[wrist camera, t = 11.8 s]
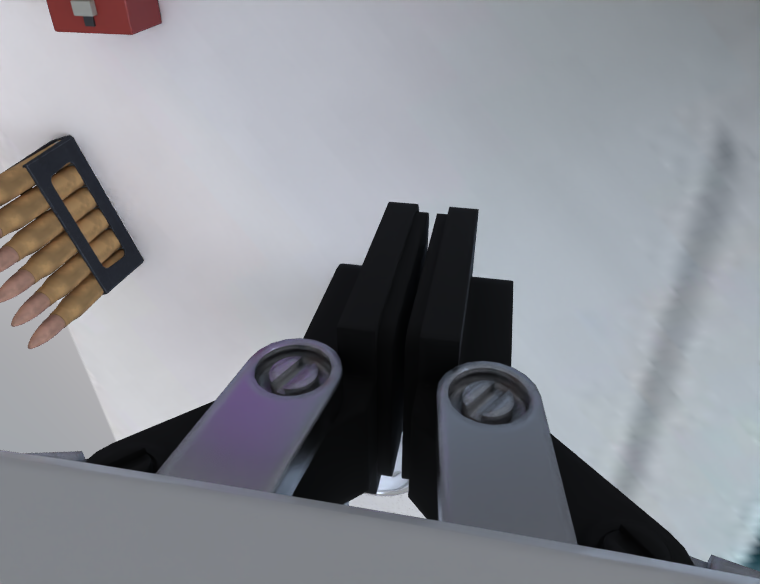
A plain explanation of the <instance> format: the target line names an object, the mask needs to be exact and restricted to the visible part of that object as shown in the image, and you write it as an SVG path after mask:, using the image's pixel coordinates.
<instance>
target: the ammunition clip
mask: <svg viewBox="0 0 760 584" xmlns="http://www.w3.org/2000/svg"><path fill="white" fill-rule="evenodd" d="M55 173H56V174H55ZM35 185H37V186H35ZM33 186H35V187H34V188H32V187H33ZM19 195H21V196H19ZM17 196H19V197H18V198H16V199H15V200H13V201H12V202H10V203H9V204H7V205H6V206H4V207H2V208H1V209H0V238H2V237H3V236H5V235H7V234H8V233H11V232H14V231H16V230H18V229H20V228H22V227H24V226H25V225H26V224H28V223H29V222H31V221H32V220H34V219H35V218H36V219H35V220H34V221H32V222H31V223H30V224H28V225H27V226H25V227H24V228H23V229H21V230H20V231H18V232H17V233H16V234H15V235H14V236H13V237H12V239H11V240H10V241H9V242H7V243H6V244H5V245H4V246H2V248H1V249H0V272H2V271H4V270H5V269H7V268H9V267H10V266H12V265H13V264H14V263H16V262H18V261H20V260H21V259H23V258H24V257H25V256H28V255H30V254H32V253H34V252H36V251H37V252H36V253H35V254H34V255H33V256H31V258H30V259H29V260H28V262H27V263H26V264H25V265H24V266H23V267H21V268H20V269H19V270H18V271H17V272H16V273H15V274H14V275H12V276H11V277H10V278H9V279H8V280H7V281H6V282H5V283H4V284H3V285H2V287H1V288H0V303H1V302H4V301H7V300H9V299H11V298H13V297H15V296H17V295H19V294H20V293H22V292H24V291H25V290H27V289H28V288H29V287H30V286H32V285H33V284H35V283H36V282H38V281H39V280H40V279H42V278H44V277H46V276H48V275H50V274H51V273H53V272H54V271H55V270H56V271H55V272H54V273H53V274H52V275H50V276H49V277H48V278H47V279H46V281H45V282H44V284H43V285H42V286H41V287H40V288H39V289H38V290H37V291H36V292H35V293H34V294H33V295H32V296H31V297H30V298H29V299H28V300H27V301H26V302H25V303H24V304H23V305H22V306H21V307H20V309H19V310H18V312H17V313H16V314H15V316H14V318H13V320H12V323H11V325H12V326H13V327H15V326H19V325H22V324H24V323H26V322H28V321H30V320H31V319H33V318H35V317H36V316H38V315H39V314H41V313H42V312H43V311H44V310H45V309H46V308H48V307H49V306H51V305H52V304H53V303H55V302H56V301H57V300H59V299H61V298H63V297H64V296H65V297H64V298H63V299H62V300H61V302H60V303H59V305H58V306H57V308H56V309H55V310H54V311H53V312H52V313H51V314H50V315H49V317H48V318H47V319H46V320H44V321H43V322H42V324H41V325H40V326H39V327H38V328H37V330H36V331H35V333H34V334H33V336H32V337H31V339H30V341H29V344H28V348H29V349H32V348H35V347H38V346H40V345H42V344H44V343H45V342H47V341H49V340H50V339H51V338H53V337H54V336H55V335H57V334H58V333H59V332H60V331H61V330H62V329H63V328H65V327H66V326H67V325H68V324H69V323H71V322H72V321H73V320H75V319H77V318H78V317H80V316H81V315H82V314H83V313H84V312H85V311H86V310H87V309H88V308H89V307H90V306H91V305H92V304H93V303H95V302H96V301H97V300H98V299H99V298H100V297H101V296H102V295H105V294H107V293H109V292H110V291H111V290H112V289H113V288H114V287H115V286H116V285H118V284H119V283H120V282H121V281H122V280H123V279H124V278H126V277H127V276H128V275H129V274H130V273H131V272H132V271H134V270H135V269H136V268H137V267H138V266H139V265H140V264H142V263H143V261H144V260H143V258H142V257H141V255H140V253H139V251H138V250H137V248H136V246H135V244H134V243H133V241H132V239H131V237H130V236H129V234H128V232H127V230H126V229H125V227H124V225H123V224H122V222H121V220H120V218H119V217H118V215H117V213H116V211H115V210H114V208H113V206H112V204H111V203H110V201H109V199H108V197H107V196H106V194H105V192H104V190H103V189H102V187H101V185H100V184H99V182H98V180H97V178H96V177H95V175H94V173H93V171H92V170H91V168H90V166H89V164H88V163H87V161H86V159H85V157H84V156H83V154H82V152H81V151H80V149H79V147H78V145H77V144H76V142H75V140H74V138H73V137H71V136H65V137H62V138H59V139H55V140H52V141H50V142H48V143H47V144H45V145H44V146H42V147H41V148H39V149H38V150H36V151H35V152H33V153H32V154H30V155H29V156H27V157H26V158H24V159H23V160H21V161H20V162H18V163H16V164H15V165H13V166H12V167H10V168H9V169H7V170H6V171H5V172H3V173H1V174H0V206H2V205H3V204H5V203H7V202H9V201H10V200H12V199H14V198H15V197H17ZM63 199H64V200H63ZM50 208H51V209H50ZM48 209H49V210H48ZM47 210H48V211H47ZM64 230H65V231H64ZM48 242H49V243H48ZM47 243H48V244H47ZM44 245H45V246H44ZM43 246H44V247H43ZM42 247H43V248H42ZM40 248H41V249H40ZM39 249H40V250H39ZM38 250H39V251H38ZM77 252H78V253H77ZM64 263H65V264H64ZM61 265H62V266H61ZM60 266H61V267H60ZM59 267H60V268H59ZM58 268H59V269H58ZM57 269H58V270H57ZM78 284H79V285H78ZM69 292H70V293H69ZM68 293H69V294H68ZM67 294H68V295H67ZM66 295H67V296H66Z"/></svg>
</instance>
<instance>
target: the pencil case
mask: <svg viewBox="0 0 760 584" xmlns="http://www.w3.org/2000/svg"><path fill="white" fill-rule="evenodd" d="M46 1H47V5H48V8H49V12H50V15H51V19H52V22H53V26H54V29H55V31H57V32H77V33H101V34H126V35H133V34H135V33H138V32H141V31H143V30H146V29H148V28H151V27H153V26H156V25H158V24H161V23H162V21H161V16H160V11H159V5H158V0H46Z"/></svg>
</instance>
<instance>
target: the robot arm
mask: <svg viewBox="0 0 760 584" xmlns="http://www.w3.org/2000/svg"><path fill="white" fill-rule="evenodd" d="M478 210H479V209H469V208H457V207H449V211H448V214H437V216H436V220H435V224H434V228H433V232H432V235H431V239H430V243H429V247H428V228H429V213H425V212H419V206H418V204H409V203H397V202H389V203H388V205H387V208H386V210H385V212H384V215H383V217H382V220H381V222H380V224H379V227H378V229H377V232H376V234H375V236H374V239H373V241H372V243H371V246H370V248H369V251H368V253H367V255H366V258H365V260H364V263H363V265H362V266H361V265H351V264H340V265H339V266H338V268H337V269H336V271H335V273H334V276H333V278H332V280H331V282H330V284H329V286H328V288H327V290H326V292H325V294H324V296H323V298H322V301H321V303H320V305H319V307H318V309H317V311H316V313H315V315H314V317H313V319H312V321H311V323H310V325H309V328H308V330H307V332H306V334H305V336H304V338H303V339H302V338H297V339H285V340H282V341H278V342H275V343H271V344H269V345H268V346H266V347H264V348H262V349H260V350H259V351H257V352H256V353H255V354H254V355H253V356H252V357H251V358H250V359H249V360H248V361H247V362H246V364H245V365H244V366H243V367H242V369H241V370H240V371H239V372H238V373H237V375H236V376H235V377H234V378H233V380H232V381H231V382H230V383H229V384H228V386H227V387H226V388H225V389H224V391H223V392H222V393H221V394H220V395H219V397H218V398H217V399H216V400H215V401H213V402H211V403H208V404H206V405H203V406H201V407H199V408H196V409H194V410H191V411H189V412H187V413H184V414H182V415H179V416H177V417H175V418H172V419H170V420H167V421H165V422H163V423H160V424H158V425H155V426H153V427H151V428H148V429H146V430H143V431H141V432H139V433H136V434H134V435H131V436H129V437H127V438H124V439H122V440H119V441H117V442H115V443H112V444H110V445H109V446H107V447H105V448H103V449H101V450H99V451H97V452H96V453H95V454H93V455H92V456H91V457H90V458H89V459H85V457H84V454H83V452H82V451H77V452H76V451H75V452H49V453H25V454H24V453H16V452H10V451H2V450H0V584H760V572H759V571H756V570H753V569H750V568H748V567H745V566H742V565H739V564H736V563H733V562H731V561H728V560H725V559H722V558H719V557H716V556H714V555H711V556H710V558H709V560H708V562H704V561H701V560H699V559H696V558H693V557H690V556H689V555H688V553H687V551H686V550H685V548H684V547H683V546H682V545H681V544H680V543H679V542H678V541H677V540H676V539H675V538H674V537H673V536H672V535H671V534H670V533H669V532H668V531H667V530H666V529H665V528H663V527H662V526H661V525H660V524H659V523H657V522H656V521H655V520H654V519H653V518H651V517H650V516H649V515H648V514H647V513H645V512H644V511H643V510H642V509H641V508H639V507H638V506H637V505H636V504H635V503H633V502H632V501H631V500H630V499H629V498H627V497H626V496H625V495H624V494H623V493H621V492H620V491H619V490H618V489H617V488H615V487H614V486H613V485H612V484H611V483H609V482H608V481H607V480H606V479H605V478H603V477H602V476H601V475H600V474H599V473H597V472H596V471H595V470H594V469H593V468H591V467H590V466H589V465H588V464H587V463H585V462H584V461H583V460H582V459H581V458H579V457H578V456H577V455H576V454H575V453H573V452H572V451H571V450H570V449H569V448H567V447H566V446H565V445H564V444H563V443H561V442H560V441H559V440H558V439H557V438H555V437H554V436H553V435H552V434H551V433H550V431H549V427H548V423H547V419H546V415H545V411H544V407H543V403H542V399H541V395H540V393H539V391H538V389H537V387H536V385H535V384H534V383H533V382H532V381H531V380H530V379H529V378H528V377H527V376H526V375H525V374H523V373H521V372H520V371H518V370H516V369H515V368H513V367H511V352H512V315H513V281H509V280H499V279H489V278H479V277H472V273H473V262H474V252H475V242H476V232H477V222H478ZM427 249H428V251H427ZM402 432H403V436H402ZM401 436H402V479H409V490H408V497H409V498H410V500H411V501H412V502H413V503H414V504H415V505H416V507H417V508H418V509H419V510H420V511H421V513H422V514H423V515H424V516H425V517H426V518H427V519H424V518H418V517H412V516H406V515H401V514H395V513H389V512H383V511H377V510H371V509H365V508H359V507H353V506H349V501H350V500H352V499H354V498H356V497H358V496H359V495H361V494H363V493H369V494H375V495H377V491H378V487H379V482H380V478H381V475H383V476H390V477H392V475H393V472H394V468H395V463H396V459H397V454H398V450H399V445H400V441H401Z"/></svg>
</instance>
